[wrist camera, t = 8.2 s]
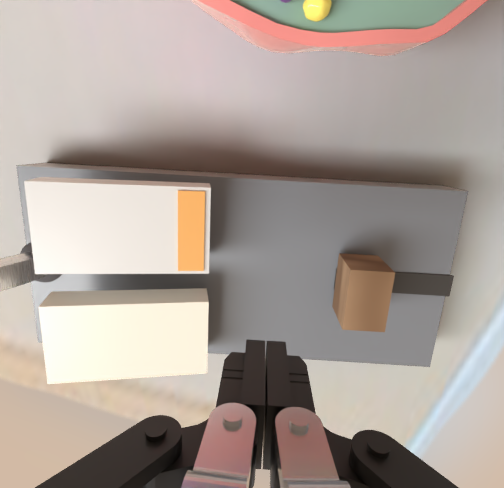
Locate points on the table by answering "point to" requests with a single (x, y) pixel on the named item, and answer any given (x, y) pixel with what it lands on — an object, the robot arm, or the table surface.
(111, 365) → the block
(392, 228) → the panel
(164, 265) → the rocker white
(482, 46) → the table surface
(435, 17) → the cell model
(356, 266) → the slider knob
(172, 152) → the table surface
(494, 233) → the table surface
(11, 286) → the toggle lever
